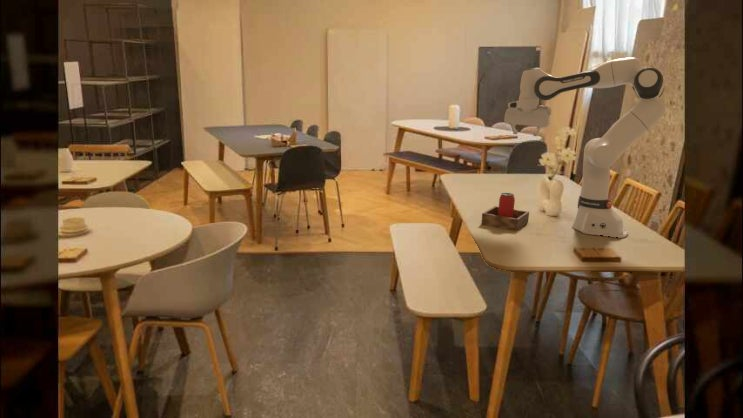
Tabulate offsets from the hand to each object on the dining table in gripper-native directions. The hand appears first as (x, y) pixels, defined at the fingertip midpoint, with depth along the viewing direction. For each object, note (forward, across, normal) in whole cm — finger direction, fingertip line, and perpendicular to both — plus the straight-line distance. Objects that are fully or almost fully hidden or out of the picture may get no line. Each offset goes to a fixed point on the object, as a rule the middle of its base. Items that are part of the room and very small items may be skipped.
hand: (525, 135), depth 262 cm
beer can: (+36, -1, +21) cm, 42 cm away
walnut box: (+37, -1, +21) cm, 43 cm away
